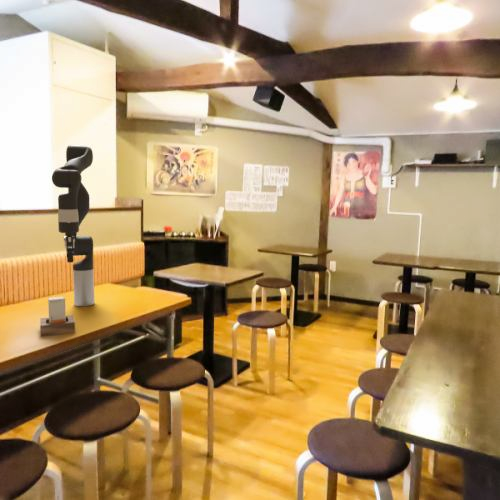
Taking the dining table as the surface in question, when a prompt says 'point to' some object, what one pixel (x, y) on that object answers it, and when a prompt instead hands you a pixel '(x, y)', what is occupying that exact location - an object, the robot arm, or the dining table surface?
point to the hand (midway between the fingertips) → (70, 260)
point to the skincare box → (57, 309)
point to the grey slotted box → (57, 326)
